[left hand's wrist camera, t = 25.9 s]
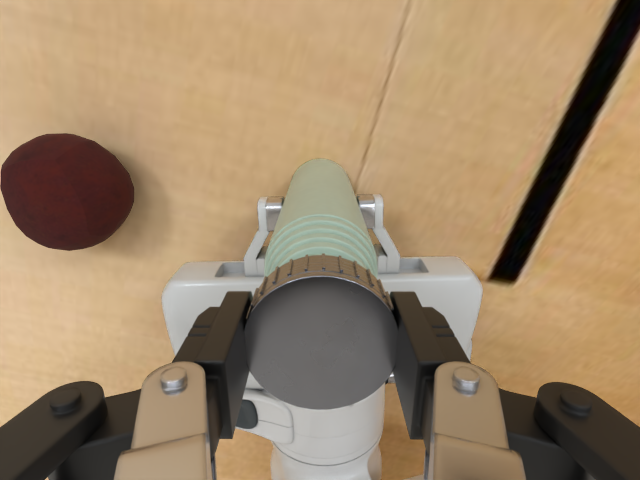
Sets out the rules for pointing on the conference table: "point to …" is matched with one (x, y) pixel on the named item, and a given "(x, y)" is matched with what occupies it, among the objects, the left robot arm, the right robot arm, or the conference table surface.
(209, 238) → the conference table surface
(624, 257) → the conference table surface
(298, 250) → the bottle
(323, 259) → the cap
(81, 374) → the conference table surface
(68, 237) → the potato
